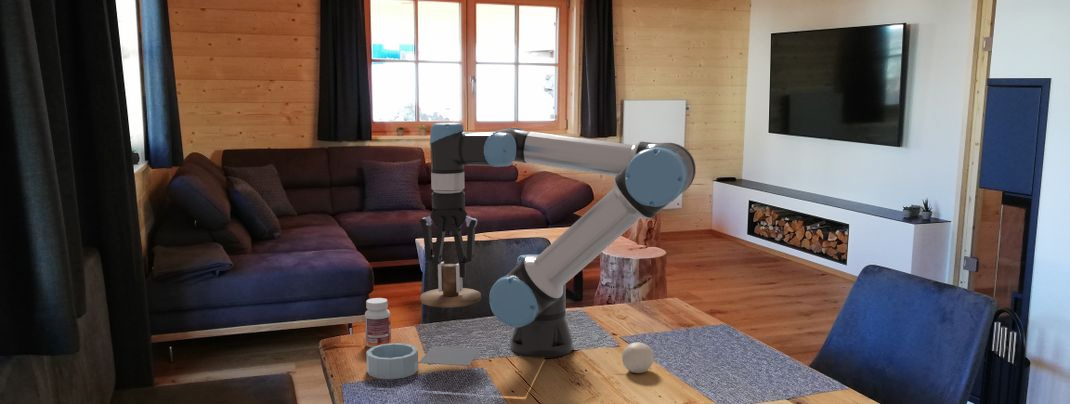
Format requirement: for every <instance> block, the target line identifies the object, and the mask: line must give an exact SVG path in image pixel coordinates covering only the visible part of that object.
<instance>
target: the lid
mask: <svg viewBox="0 0 1070 404" xmlns="http://www.w3.org/2000/svg"><path fill="white" fill-rule="evenodd" d="M456 264H457V263H446V264H445V263H444V265H443V266H442V275H443V291H442V292H439V288H435V289H431V290H427V291H425V292H423V293H421V294H420V303H422V304H423V305H426V306H429V307H432V308H433V307H435V308H459V307H466V306H472V305H474V304H476V303H479V302H480V301H481V300H482V293H481V292H480V291H478V290H476V289H473V288H466V287H463V290H462V291H461V292H460V293H459V292H457V291H456Z"/></svg>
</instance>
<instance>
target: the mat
mask: <svg viewBox="0 0 1070 404" xmlns="http://www.w3.org/2000/svg"><path fill="white" fill-rule="evenodd" d="M481 350H482V348H475V347H474V348H472V347H457V346H456V347H455V346H453V347H451V346H440V345H438V346H437V345H435V346H434V345H433V346H431V348H430V349H429V350H428V351H427V352H426V353H425V355H424V356H423V357H422V358H421V359H420V360H418V364H429V365H430V364H431V365H433V364H434V365H446V366H447V365H448V366H449V365H450V366H466V367H467V366H468V367H469V366H470V365H471V364H472V362H473V361H474V360H475V359H476V357H477V355H478V354H479V353H480V352H481Z"/></svg>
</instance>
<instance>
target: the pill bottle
mask: <svg viewBox="0 0 1070 404" xmlns="http://www.w3.org/2000/svg"><path fill="white" fill-rule="evenodd" d="M388 303H389V302H388V298H383V297H375V298H374V297H372V298H368V299H367V300H366V301H365V305H366V306H365V308H366V309H367V310H366V311H365V313H364V326H365V327H364V329H365V330H364V331H365V334H364V336H365V345H366V347H369V348H371V347H375V346H378V345H381V344H390V343H392V328H391V327H392V326H391V312H390V310H389V309H387V308H388V307H389V304H388Z"/></svg>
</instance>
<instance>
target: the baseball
mask: <svg viewBox="0 0 1070 404" xmlns="http://www.w3.org/2000/svg"><path fill="white" fill-rule="evenodd" d="M621 359H622V363H623V365H624V367H625V369H627V371H629V372H631V373H634V374H643V373H646V372H648V370H650V369H651V367H652V366H653V362H654V352H653V350H652V348H651V347H650V346H649V345H647V344H646V343H643V342H638V341H637V342H631V343H629V344H628V345H627V346H625V348H624V349H623V351H622V355H621Z"/></svg>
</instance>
